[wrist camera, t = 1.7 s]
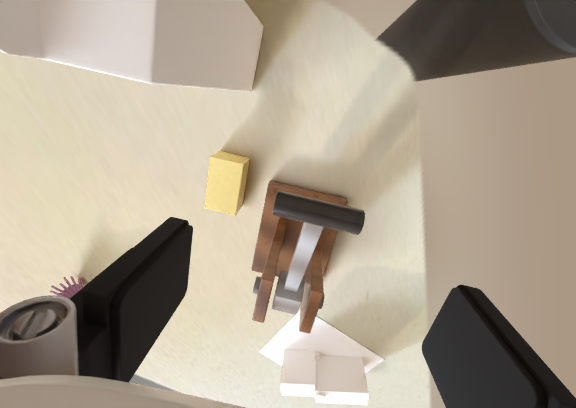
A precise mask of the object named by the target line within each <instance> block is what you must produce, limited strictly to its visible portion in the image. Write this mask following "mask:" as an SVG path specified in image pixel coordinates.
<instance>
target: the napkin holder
mask: <svg viewBox="0 0 576 408" xmlns="http://www.w3.org/2000/svg"><path fill="white" fill-rule="evenodd" d="M299 321H300V311H299V312H298V313H297V314H296V315H295V316H294V317H293V318H292V319H291V320H290V321H289V322H288V323H287V324H286V325H285V326H284V327H283V328H282V329H281V330H280V331H279V332H278V333H277V334H276V335H275V336H274V337H273V338H272V339H271V341H270V342H269V343H268V344H267V345H266V346H265V347H264V348H263V349H262V350H261V351H260V353H262V354H263V355H265V356H267V357H268V358H270V359H272V360H273V361H275V362H277V363H278V364H280V365H282V372H281V380H280V387H281V395H284V396H305V397H315V398H316V403H330V404H350V405H368V397H369V392H368V387H367V381H366V376H365V374H367V373H368V372H369V371H370V370H372V369H373V368H374V367H375V366H377V365H378V364H379V363H381V362H382V361H383V360H384V359H383V358H381V357H379V356H378V355H376V354H375V353H373V352H372V351H370V350H368V349H367V348H365V347H364V346H362V345H361V344H359V343H357V342H356V341H354V340H353V339H351V338H350V337H348V336H346V335H345V334H343V333H342V332H340V331H339V330H337V329H335V328H334V327H332V326H331V325H329V324H328V323H326V322H324V321H323V320H321V319H320V318H318V317H317V316H316V318H315V321H314V324H313V327H312V330H311V333H310V334H308V333H304V332H300V331H299Z"/></svg>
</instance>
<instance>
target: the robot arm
mask: <svg viewBox="0 0 576 408" xmlns="http://www.w3.org/2000/svg"><path fill="white" fill-rule="evenodd" d="M192 234H193V227H192V226H190V225H189V223H188V221H187V220H182V219H178V218H174V217H170V218H169V219H167V220H166V221H165V222H164V223H163V224H161V225H160V226H159V227H158V228H157V229H155V230H154V231H153V232H152V233H151V234H149V235H148V236H147V237H146V238H145V239H143V240H142V241H141V242H140V243H139V244H137V245H136V246H135V247H134V248H131V249H130V250H128V251H127V252H126V253H124V254H123V255H122V256H121V257H120V258H118V259H117V260H116V261H115V262H113V263H112V264H111V265H110V266H109V267H107V268H106V269H105V270H104V271H103V272H101V273H100V274H99V275H98V276H96V277H95V278H94V279H93V280H92V281H90V282H89V283H88V284H87V285H86V286H84V287H83V288H82V289H81V290H79V291H78V292H77V293H76V294H75V295H73V296H72V297H71V298H70V299H68V298H65V297H62V296H41V297H35V298H32V299H28V300H24V301H22V302H20V303H17V304H15V305H13V306H11V307H9V308H7V309H6V310H4V311H3V312H1V313H0V408H245V407H240V406H236V405H232V404H227V403H223V402H218V401H214V400H210V399H205V398H201V397H196V396H192V395H187V394H182V393H177V392H172V391H168V390H163V389H158V388H153V387H148V386H144V385H138V384H134V383H129V381H130V380H131V378H132V376H133V375H134V373H135V372H136V370H137V369H138V367H139V366H140V364H141V363H142V361H143V360H144V358H145V356H146V355H147V353H148V352H149V350H150V349H151V347H152V346H153V344H154V343H155V341H156V339H157V338H158V336H159V335H160V333H161V332H162V330H163V329H164V327H165V326H166V324H167V323H168V321H169V319H170V318H171V316H172V315H173V313H174V312H175V310H176V309H177V307H178V306H179V304H180V302H181V301H182V299H183V298H184V296H185V294H186V291H187V285H188V275H189V265H190V254H191V244H192ZM422 352H423V355H424V358H425V360H426V362H427V365H428V367H429V369H430V372H431V374H432V376H433V378H434V381H435V383H436V385H437V388H438V390H439V392H440V395H441V397H442V399H443V402H444V404H445V406H446V408H576V398H575V397H574V396H573V395H572V394H571V392H570V391H569V390H568V389H567V388H566V387H565V386H564V384H563V383H562V382H561V381H560V380H559V379H558V378H557V376H556V375H555V374H554V373H553V372H552V371H551V370H550V368H549V367H548V366H547V365H546V364H545V363H544V362H543V360H542V359H541V358H540V357H539V356H538V355H537V354H536V353H535V351H534V350H533V349H532V348H531V347H530V346H529V344H528V343H527V342H526V341H525V340H524V339H523V338H522V337H521V335H520V334H519V333H518V332H517V331H516V330H515V329H514V328H513V326H512V325H511V324H510V323H509V322H508V321H507V319H506V318H505V317H504V316H503V315H502V314H501V313H500V311H499V310H498V309H497V308H496V307H495V306H494V305H493V303H492V302H491V301H490V300H489V299H488V298H487V297H486V296H485V294H484V293H483V292H482V291H481V290H480V289H477V288H473V287H469V286H464V285H459V286H457V287H456V288H453V289H452V290H451V292H450V293H449V295H448V297H447V299H446V301H445V303H444V304H443V306H442V308H441V310H440V312H439V313H438V315H437V317H436V319H435V321H434V323H433V324H432V326H431V328H430V330H429V332H428V334H427V335H426V337H425V339H424V341H423V343H422Z"/></svg>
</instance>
